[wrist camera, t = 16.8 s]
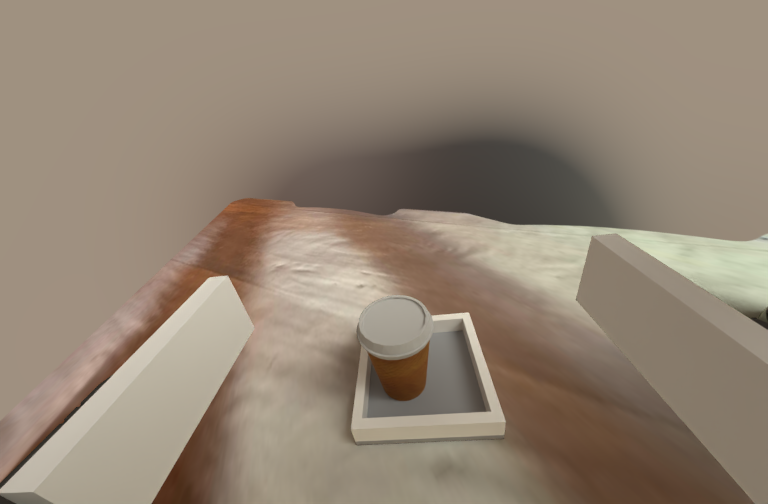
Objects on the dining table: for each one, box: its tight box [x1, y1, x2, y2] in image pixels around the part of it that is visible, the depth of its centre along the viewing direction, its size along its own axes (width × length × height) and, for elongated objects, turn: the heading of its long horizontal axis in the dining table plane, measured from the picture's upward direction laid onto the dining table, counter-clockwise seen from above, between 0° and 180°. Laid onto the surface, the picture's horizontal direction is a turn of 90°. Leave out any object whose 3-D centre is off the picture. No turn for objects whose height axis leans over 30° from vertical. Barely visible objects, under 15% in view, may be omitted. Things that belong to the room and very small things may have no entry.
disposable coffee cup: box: [357, 295, 434, 401], centre depth 37 cm, size 10×10×12 cm
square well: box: [351, 313, 506, 445], centre depth 40 cm, size 17×17×4 cm
